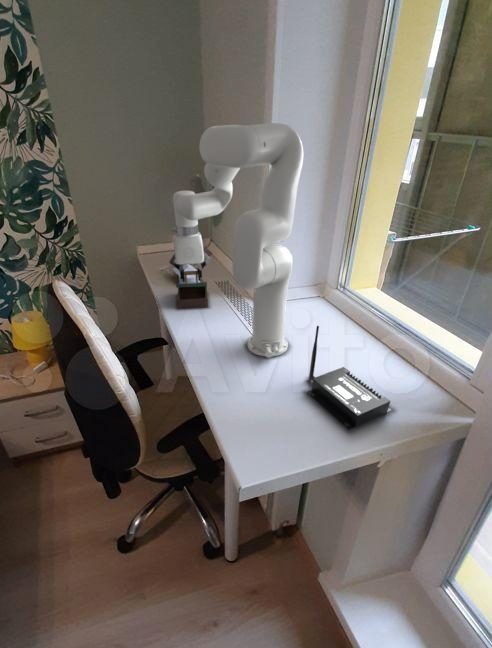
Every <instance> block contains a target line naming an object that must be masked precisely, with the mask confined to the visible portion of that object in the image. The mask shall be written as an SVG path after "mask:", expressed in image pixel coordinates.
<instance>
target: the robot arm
mask: <svg viewBox="0 0 492 648" xmlns="http://www.w3.org/2000/svg"><path fill="white" fill-rule="evenodd" d="M198 145H199V148H198V149H199V154H200V158H201V159H202V161H203V162H204V163H205V165H204V168H203V173H204V176H205V179H206V180H207V182H208V183H209V184H210V185H211V186H213V187H214V188H213V189H212V190H210V191H204V192H203V191H202V192H198V193H195V191H193V190H178V191H175V192H174V193H173V196H172V199H173V210H174V219H175V220H174V221H175V226H174V227H171V232H175V234H174V239H173V247H174V249H173V250H174V253H173V254H172V256H171V258H170V259H169V261H168V263H169V264H170V265H171V266H173V268H174V267H175V268H177V269H178V270H179V271H180V277H181V279H183V282H185V276H184V269H183V265H184V264H189V265H195V264H196V265H197V271H198V281H200V282H201V279H202V278H203V271H202V270H203V269H204V268H205V267H206V266H207V264H209V263H210V262H211V257H210V256H209V255H208V254H207V253H206V251H204V250H205V249H204V241H203V238H202V234H201V232H199V222H198V221H199V220H202V219H206V218H210V217H214V216H218V215H220V214H221V213H222V212H223V211H225V209H226V208H227V206H228V205H229V204H230V202H231V200H232V198H233V191H234V186H233V180H234V179H235V177H236V175H237V174H238V172H239V171H240V169H241V168H242V169H244V168H245V169H246V168H252V167H258V166H265V165H269V164H270V166H271V167H270V169H269V170H268V172H267V174H266V176H265V179H264V181H263V185H262V189H261V201H260V205H259V207H258V208H254V209H249V210H247V211H244V212H243V213H242V214H240V216H238V218H237V220H236V222H235V224H234V227H233V228H234V229H233V240H232V241H233V242H232V276H233V279H234V282H235V284H236V285H237V286H238V288H240V289H242V290H244V291H252V290H254V291H253V304H252V336H250V337H249V338H248V339H247V343H246V345H247V348H248V350H249V352H251V353H252V354H254V355H258V356H260V357H266V358H268V359H270V358H272V357H278V356H280V355H283V354H284V353H285V352H286V351H287V350H288V348H289V343H288V340H287V338H285V337H284V336H285V322H286V310H287V308H286V307H287V298H288V288H289V283H290V279H291V276H292V271H293V268H294V258H293V255H292V252H291V251H290V250H289V249H288V248H287V247H286V246H284V245H281V244H279V243H283V242H285V241H286V240H287V239H288V238H290V236H291V234H292V231H293V225H294V218H295V212H296V204H297V195H298V188H299V187H298V186H299V183H300V178H301V174H302V171H303V164H304V157H305V156H304V145H303V142H302V139H301V137H300V135H299V133H298V132H297V131H296V129H294V128H293V127H292V126H290V125H288V124H285V123H280V122H269V123H260V124H259V123H257V124H247V125H246V124H245V125H241V124H225V125H214V126H210V127H208V128H207V129H205V131H203V133H202V134H201V136H200V139H199V144H198Z"/></svg>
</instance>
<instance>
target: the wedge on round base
mask: <svg viewBox="0 0 492 648" xmlns="http://www.w3.org/2000/svg"><path fill="white" fill-rule="evenodd" d="M183 269H184V271H198V269H196V268H195V267H194V266H193V265H192V264H184V265H183ZM172 271H173V272H174V273H175V274H176V275H177V276H178V283H185V282H183V279H181V277H180V271H179V270H178V269H177V268H175V267H174V266H173V268H172ZM184 276H185V275H184ZM187 282H196V275H187ZM198 282H201V280H200V281H198Z"/></svg>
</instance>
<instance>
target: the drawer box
mask: <svg viewBox="0 0 492 648" xmlns="http://www.w3.org/2000/svg"><path fill="white" fill-rule="evenodd" d="M207 287H208V285H207V286H198V287H179V288H177V308H178V310H188V309H190V310H191V309H204V308H209V298H208V289H207Z"/></svg>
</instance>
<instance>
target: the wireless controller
mask: <svg viewBox="0 0 492 648" xmlns="http://www.w3.org/2000/svg"><path fill="white" fill-rule="evenodd" d="M319 329H320V325H316V329H315V337H314V342H313V347H312V352H311V359H310V366H309V374H308V380H309V381H312V382H311V390H308V391H306V394H307V395H309V396H310V397H311V398H312V399H313V400H315V402H317V403H318V404H319V405H320V406H321V407H322V408H323V409H324V410H325V411H326V412H327V413H329V414H330V415H331V416H332V417H333V418H334V419H336V421H338V422H339V423H340V424H341V425H342V426H343V427H345V429H347V430H349V431H350V430H352V429H355V428H357V427H359V426H362V425H364V424H366V423H368V422H371V421H373V420H375V419H377V418H379V417H381V416H383V415H385V414H388V413H389V412H391V411H392V408H390V405H391V400H390V399H388V398H387V397H386V396H383V397H382V394H380V395H379V392H377V393H376V390H374V388H372V387H371V388H370V385H368V386H367V383H364V381H362V380H361V379H359V377H356V375H354V374H353V373H351V371H350V370H349V369H347V368H346V367H345V366H342V367H339V368H337V369H334V370H331V371H328V372H326V373H323V374H320V375H318V376H315V375H314V374H315V367H316V360H317V351H318V338H319V337H318V336H319ZM373 390H374V391H373Z"/></svg>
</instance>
